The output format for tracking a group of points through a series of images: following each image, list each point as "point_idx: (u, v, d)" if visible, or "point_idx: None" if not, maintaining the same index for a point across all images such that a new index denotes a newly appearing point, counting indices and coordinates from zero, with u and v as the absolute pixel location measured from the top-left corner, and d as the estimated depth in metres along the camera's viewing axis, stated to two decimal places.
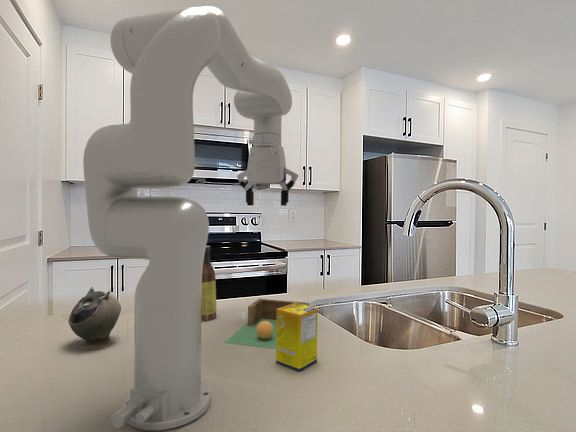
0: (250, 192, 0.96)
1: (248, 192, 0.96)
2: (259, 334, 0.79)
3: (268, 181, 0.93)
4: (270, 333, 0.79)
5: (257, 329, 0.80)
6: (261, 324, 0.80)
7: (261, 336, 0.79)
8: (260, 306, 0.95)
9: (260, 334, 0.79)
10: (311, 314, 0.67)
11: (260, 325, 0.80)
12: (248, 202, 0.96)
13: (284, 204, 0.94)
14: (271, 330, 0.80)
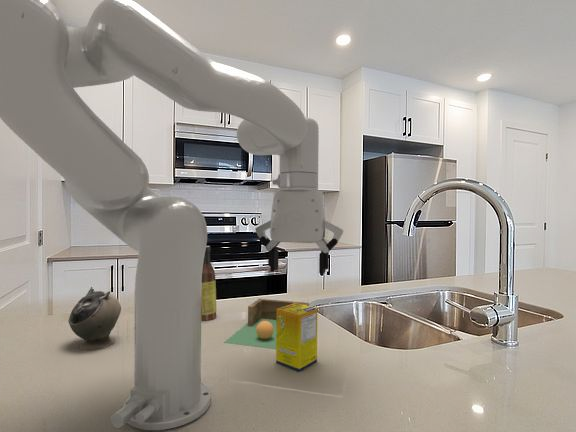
0: (274, 253, 0.69)
1: (272, 253, 0.68)
2: (259, 334, 0.79)
3: (301, 240, 0.65)
4: (270, 333, 0.79)
5: (257, 329, 0.80)
6: (261, 324, 0.80)
7: (261, 336, 0.79)
8: (260, 306, 0.95)
9: (260, 334, 0.79)
10: (311, 314, 0.67)
11: (260, 325, 0.80)
12: (272, 267, 0.68)
13: (323, 272, 0.67)
14: (271, 330, 0.80)
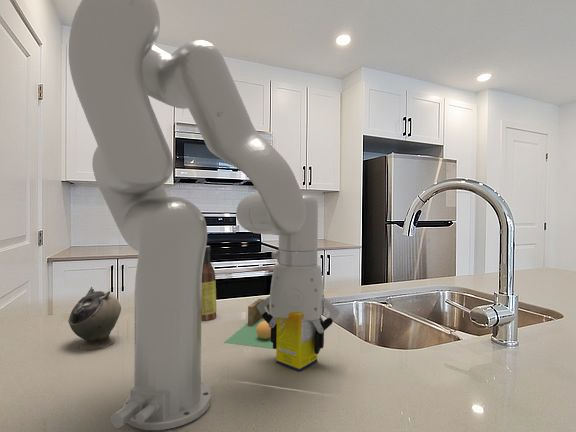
0: None
1: (274, 331, 0.68)
2: (259, 334, 0.79)
3: None
4: (270, 333, 0.79)
5: (257, 329, 0.80)
6: (261, 324, 0.80)
7: (261, 336, 0.79)
8: None
9: (260, 334, 0.79)
10: None
11: (260, 325, 0.80)
12: (274, 345, 0.68)
13: (319, 350, 0.67)
14: None
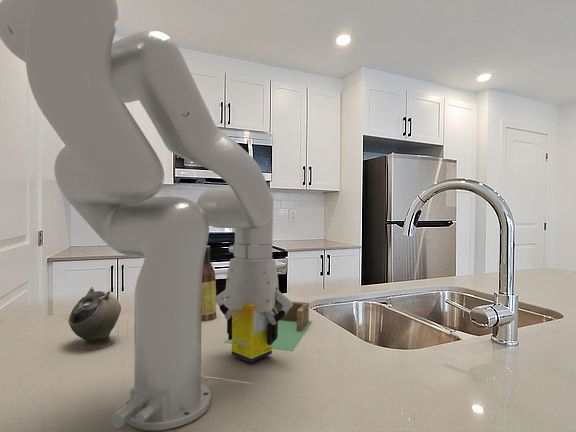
0: None
1: (230, 322, 0.70)
2: None
3: None
4: None
5: None
6: None
7: None
8: None
9: None
10: None
11: None
12: (230, 336, 0.70)
13: (272, 342, 0.69)
14: None
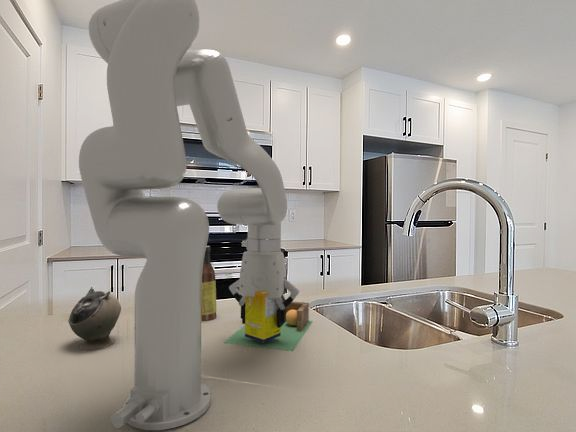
0: None
1: (243, 308, 0.79)
2: None
3: None
4: None
5: None
6: (287, 322, 0.89)
7: None
8: None
9: None
10: None
11: (287, 322, 0.90)
12: (243, 321, 0.79)
13: (281, 325, 0.78)
14: None
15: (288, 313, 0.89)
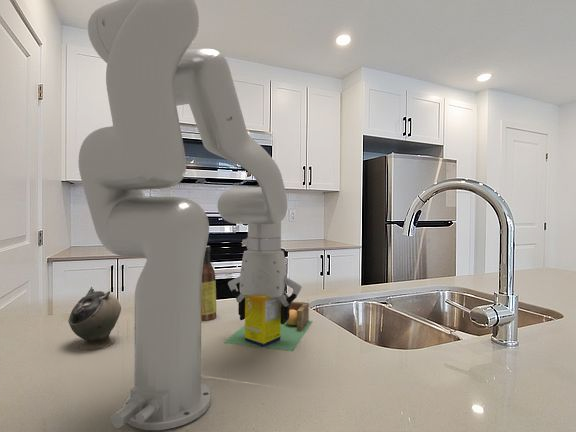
0: (243, 304, 0.80)
1: (241, 305, 0.79)
2: None
3: None
4: None
5: None
6: (287, 322, 0.89)
7: None
8: None
9: None
10: (274, 298, 0.78)
11: (287, 322, 0.90)
12: (241, 317, 0.80)
13: (284, 322, 0.78)
14: None
15: None
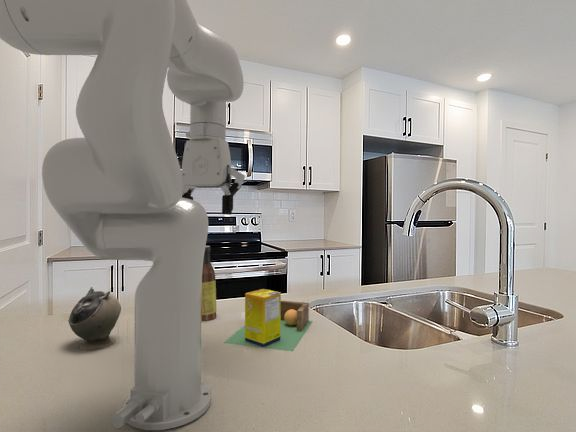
0: (186, 198, 0.77)
1: (183, 198, 0.76)
2: None
3: (206, 183, 0.73)
4: None
5: None
6: (287, 322, 0.89)
7: None
8: None
9: None
10: (274, 298, 0.78)
11: (286, 322, 0.90)
12: None
13: (227, 213, 0.74)
14: None
15: (286, 313, 0.90)
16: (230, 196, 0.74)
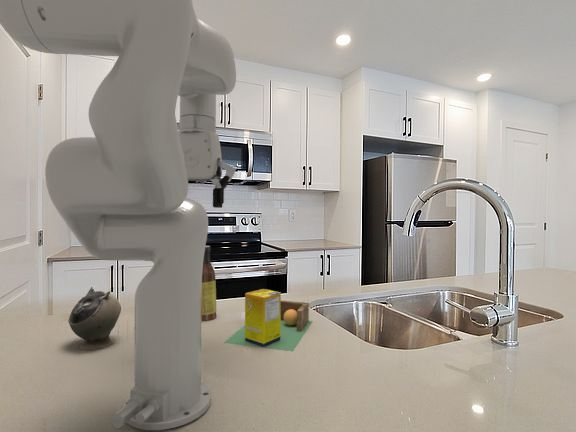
0: None
1: None
2: None
3: (196, 176, 0.73)
4: None
5: None
6: (286, 323, 0.89)
7: None
8: None
9: None
10: (274, 298, 0.78)
11: (286, 323, 0.90)
12: None
13: (218, 206, 0.74)
14: None
15: (285, 314, 0.90)
16: (221, 189, 0.74)
